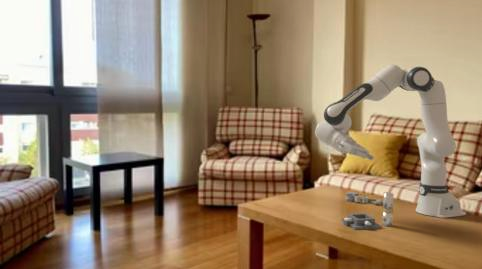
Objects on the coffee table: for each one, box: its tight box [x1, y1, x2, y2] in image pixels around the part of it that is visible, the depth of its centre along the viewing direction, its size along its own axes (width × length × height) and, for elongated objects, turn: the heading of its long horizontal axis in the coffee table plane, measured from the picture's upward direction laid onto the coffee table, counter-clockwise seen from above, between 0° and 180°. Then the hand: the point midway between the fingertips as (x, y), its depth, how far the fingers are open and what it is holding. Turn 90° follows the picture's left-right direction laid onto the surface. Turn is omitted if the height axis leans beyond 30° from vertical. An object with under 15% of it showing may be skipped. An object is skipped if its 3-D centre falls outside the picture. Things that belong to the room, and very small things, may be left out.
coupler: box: [381, 191, 394, 227], centre depth 180 cm, size 4×4×14 cm
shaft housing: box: [341, 212, 382, 231], centre depth 180 cm, size 14×14×4 cm
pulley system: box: [344, 191, 383, 206], centre depth 224 cm, size 27×5×15 cm
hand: (369, 158), depth 188 cm, fingers open, 8 cm apart
